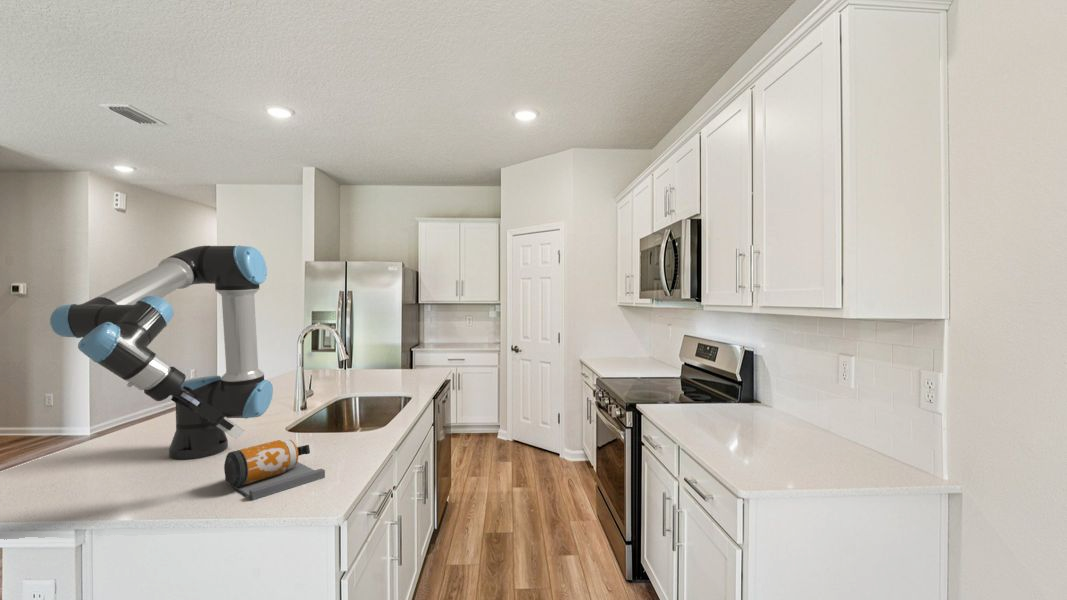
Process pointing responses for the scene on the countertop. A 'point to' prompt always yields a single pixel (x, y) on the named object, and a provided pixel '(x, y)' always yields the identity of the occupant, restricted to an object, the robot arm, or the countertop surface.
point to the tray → (281, 481)
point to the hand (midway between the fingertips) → (239, 434)
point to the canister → (261, 461)
